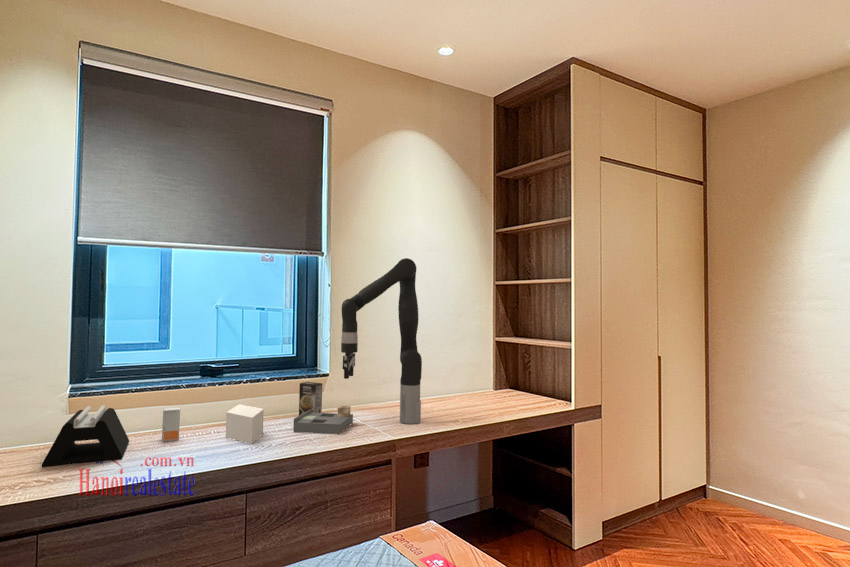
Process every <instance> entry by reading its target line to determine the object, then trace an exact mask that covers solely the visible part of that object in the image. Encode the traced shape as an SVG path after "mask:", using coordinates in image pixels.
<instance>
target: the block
mask: <svg viewBox="0 0 850 567" xmlns="http://www.w3.org/2000/svg"><path fill="white" fill-rule="evenodd" d="M337 414H338V417H348V416H350V414H351V405H339V406H338V407H337Z"/></svg>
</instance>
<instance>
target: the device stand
mask: <svg viewBox="0 0 850 567" xmlns="http://www.w3.org/2000/svg"><path fill="white" fill-rule="evenodd" d="M106 407H107V406H106V405H104V404H103V405H101V406H100V407H99V408H98V410H96V411H95V413H92V412H91V413H89V412H90V411H91V409H92V406H90V405H87V406H86V407H85V408H84V409H79V410H77V411H76V412H75V413H74V414H73V415H72V416H71V417H70V419H68V420H67V421H66V422H65V423H64V424H63V426H62V427H61V429H60V431H59V432H58V434H57V437H56V438H55V440H54V441H53V443H52V445H51V447H50V448H49V451H48V453H47V454H46V456H45V458H44V460H43V462H41V467H42V468H48V467H57V466H58V467H59V466H69V465H80V464H89V463H99V462H111V461H119V460H120V461H121V460H123V457H124V455H125V452H126V450H127V448H128V445H129V443H130V438H129V437H128V435H127V432H126V431H125V429H124V426H123V425H122V423H121V420H120V418H119V416H118V414H117V412H116V410H115V409H114V408H112V407H108V408H106ZM94 440H97V441H98V442H89V443H75V442H82V441H94Z"/></svg>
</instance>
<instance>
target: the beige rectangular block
mask: <svg viewBox="0 0 850 567" xmlns="http://www.w3.org/2000/svg"><path fill="white" fill-rule="evenodd" d="M264 410H265V409H264V408H260V407H254V406H249V405H245V404H240V403H239V404H237V405H235V406H234V407H232V408H231V409H229V410H228V411H226V414H225V416H226V417H225V438H226V439H229V438H231V439H230V440H233V439H235V440H234V441H236V440H239V441H238V442H240V441H242V442H241V443H244V442H247V443H246V444H248V443H251V444H250V445H253V444H254V443H255V442H256V441H257V440H258V439H259V438H260V437H261V436H262V435H263V434H264V416H265V415H264V413H265V412H264ZM262 433H263V434H262ZM261 434H262V435H261ZM260 435H261V436H260ZM259 436H260V437H259ZM258 437H259V438H258ZM257 438H258V439H257ZM256 439H257V440H256ZM255 440H256V441H255ZM254 441H255V442H254ZM253 442H254V443H253ZM252 443H253V444H252Z"/></svg>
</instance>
